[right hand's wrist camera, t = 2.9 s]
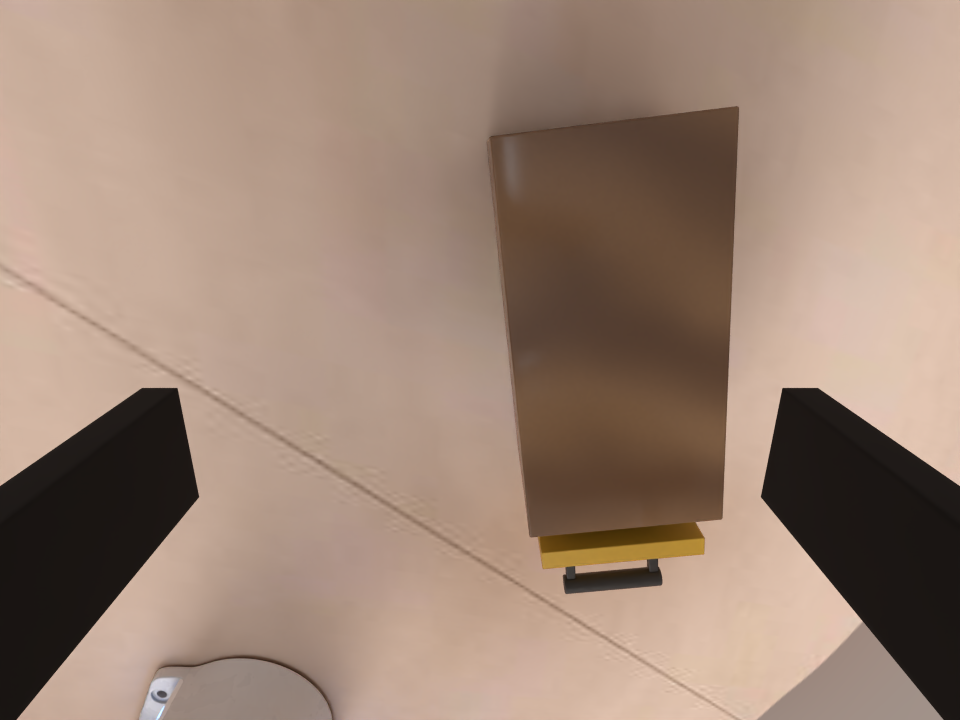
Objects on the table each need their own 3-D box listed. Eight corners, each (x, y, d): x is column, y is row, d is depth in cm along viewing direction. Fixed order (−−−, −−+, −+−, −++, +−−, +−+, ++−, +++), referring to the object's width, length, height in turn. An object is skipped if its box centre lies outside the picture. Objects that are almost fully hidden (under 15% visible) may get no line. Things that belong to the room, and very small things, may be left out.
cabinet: (664, 432, 42) (723, 520, 32) (518, 447, 42) (529, 538, 32) (664, 119, 34) (739, 105, 24) (486, 141, 35) (489, 136, 25)
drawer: (661, 536, 44) (702, 623, 35) (536, 547, 44) (549, 637, 36) (659, 195, 35) (714, 208, 27) (504, 213, 35) (511, 231, 27)
